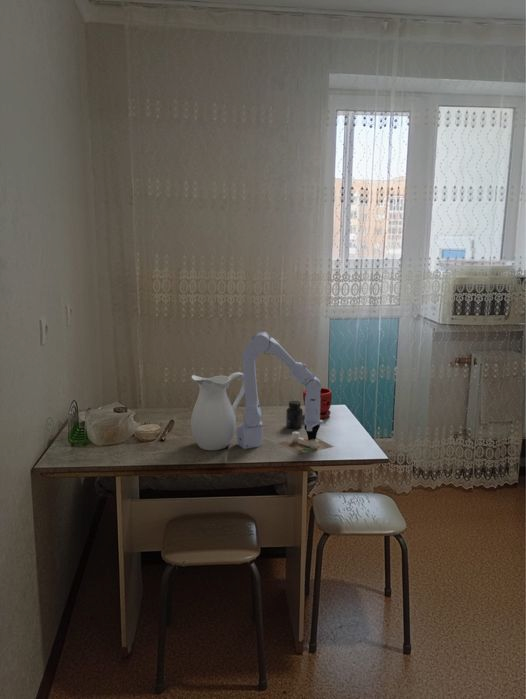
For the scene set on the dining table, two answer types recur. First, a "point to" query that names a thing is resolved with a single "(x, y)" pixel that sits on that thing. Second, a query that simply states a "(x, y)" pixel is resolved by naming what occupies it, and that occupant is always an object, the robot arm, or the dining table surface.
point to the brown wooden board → (304, 446)
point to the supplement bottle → (294, 415)
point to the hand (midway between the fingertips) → (311, 443)
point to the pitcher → (214, 412)
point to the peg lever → (304, 440)
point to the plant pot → (323, 401)
